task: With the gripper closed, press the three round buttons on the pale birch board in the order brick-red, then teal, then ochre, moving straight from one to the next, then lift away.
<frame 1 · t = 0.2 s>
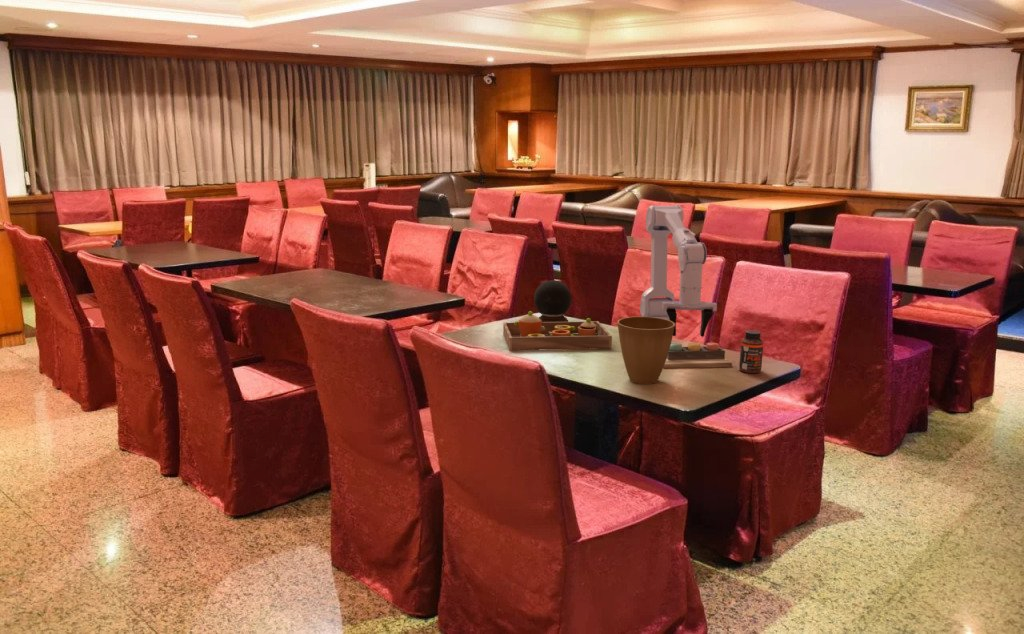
hand: (688, 335, 233), 10 cm above the table, tool pointing down, fingers open, 7 cm apart
toy tea set: (555, 341, 269), resting in tea set tray rim
button board: (689, 361, 244), on the table
ochre button: (693, 348, 244), point 4 cm above the table, slide at 0.0 cm
supplement bottle: (750, 372, 234), on the table
plant pot: (643, 381, 224), on the table
teal button: (675, 348, 243), point 4 cm above the table, slide at 0.0 cm
tea set tray rim: (555, 341, 267), on the table
brick button: (712, 348, 244), point 4 cm above the table, slide at 0.0 cm
snow globe: (552, 323, 295), on the table
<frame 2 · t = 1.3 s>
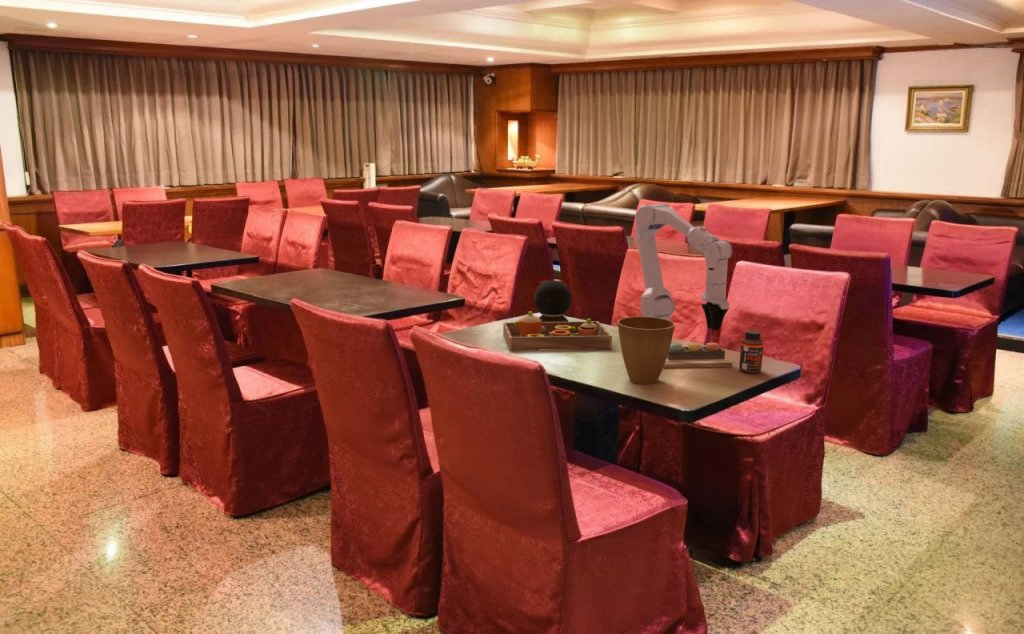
hand: (713, 329, 243), 9 cm above the table, tool pointing down, fingers closed
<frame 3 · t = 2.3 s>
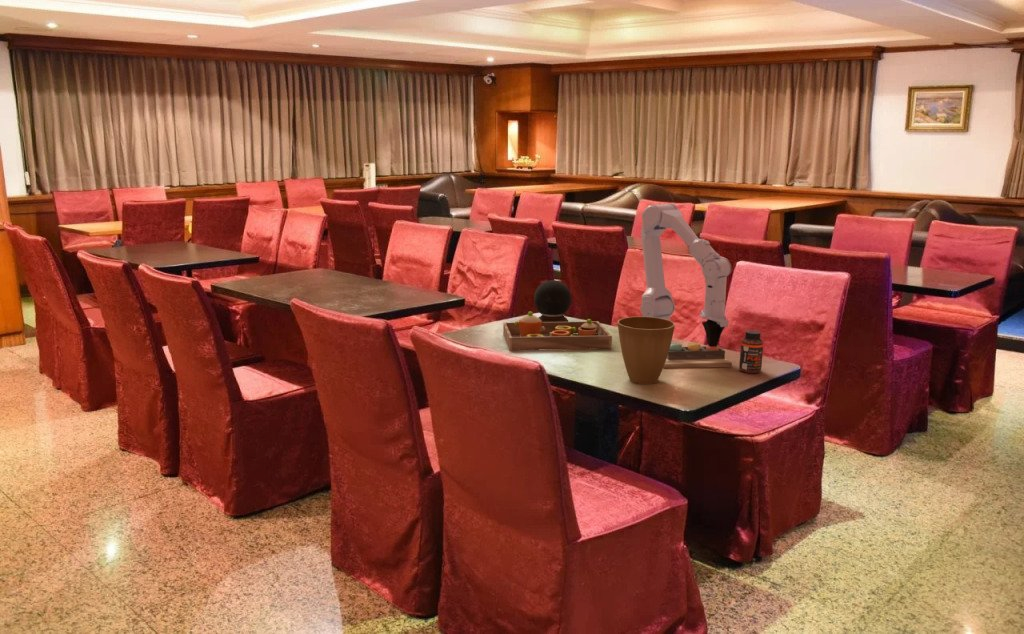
hand: (712, 346, 244), 4 cm above the table, tool pointing down, fingers closed, pressing on brick button
brick button: (712, 350, 244), point 3 cm above the table, slide at 0.6 cm, touching gripper
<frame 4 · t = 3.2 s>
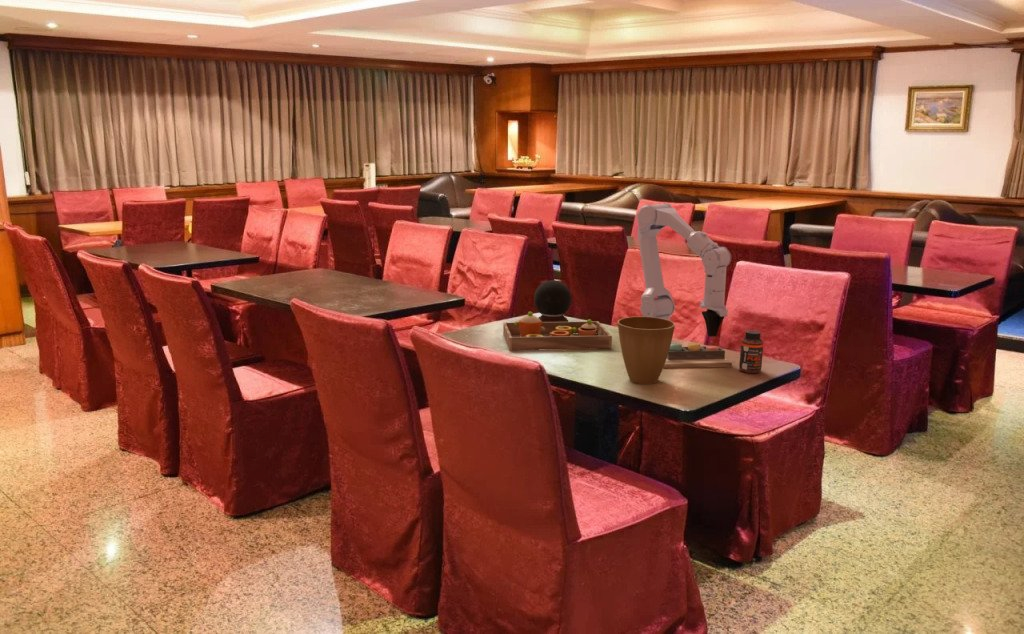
hand: (712, 336, 244), 7 cm above the table, tool pointing down, fingers closed
brick button: (712, 351, 245), point 3 cm above the table, slide at 1.0 cm
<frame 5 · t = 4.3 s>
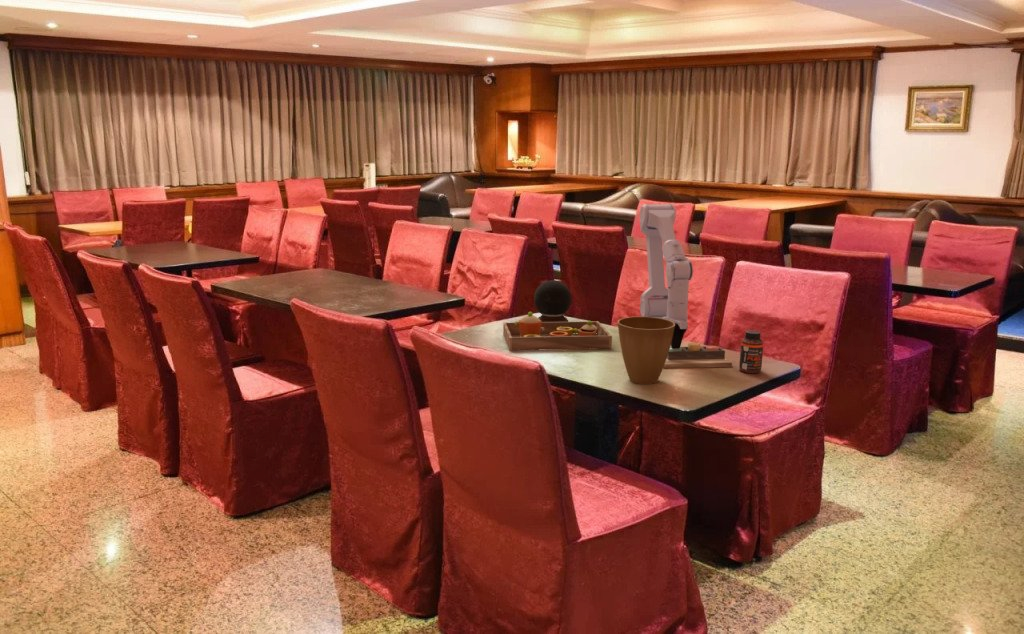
hand: (675, 348, 243), 4 cm above the table, tool pointing down, fingers closed, pressing on teal button
teal button: (675, 352, 243), point 3 cm above the table, slide at 1.0 cm, touching gripper
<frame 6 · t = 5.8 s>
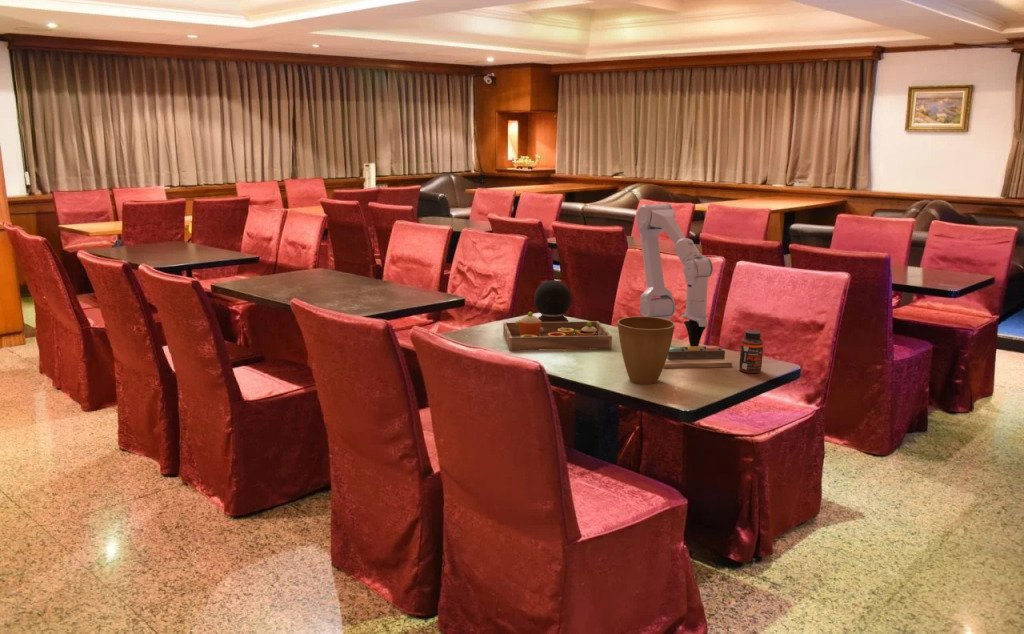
hand: (694, 345, 244), 5 cm above the table, tool pointing down, fingers closed, pressing on ochre button
toy tea set: (554, 344, 266), resting in tea set tray rim
ochre button: (693, 349, 244), point 3 cm above the table, slide at 0.4 cm, touching gripper
teal button: (675, 352, 243), point 3 cm above the table, slide at 1.0 cm
everything else where it was.
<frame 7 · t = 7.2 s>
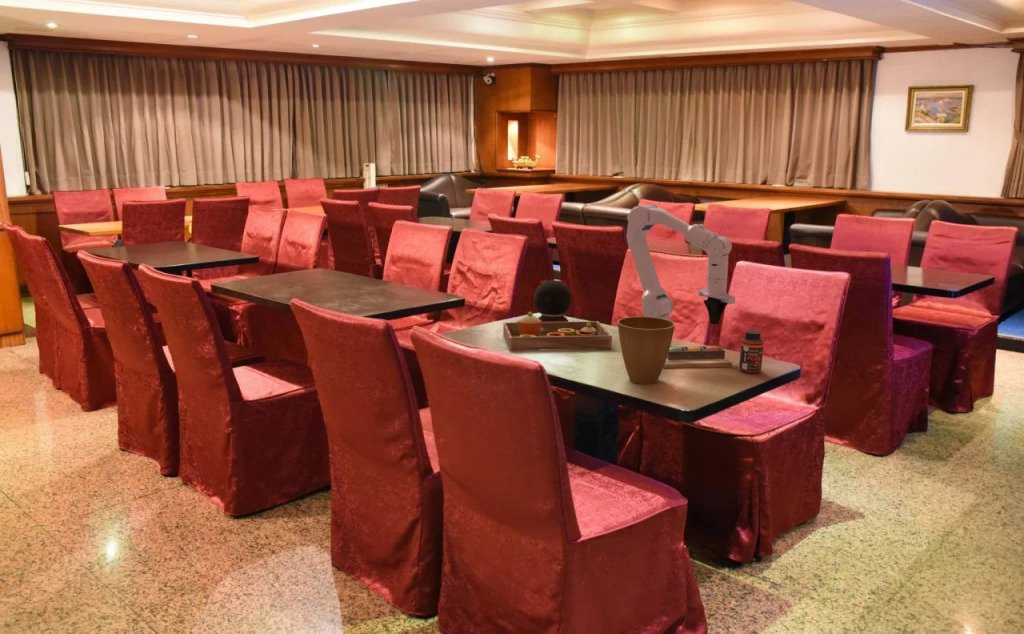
hand: (714, 323, 248), 10 cm above the table, tool pointing down, fingers closed
ochre button: (693, 351, 244), point 3 cm above the table, slide at 1.0 cm
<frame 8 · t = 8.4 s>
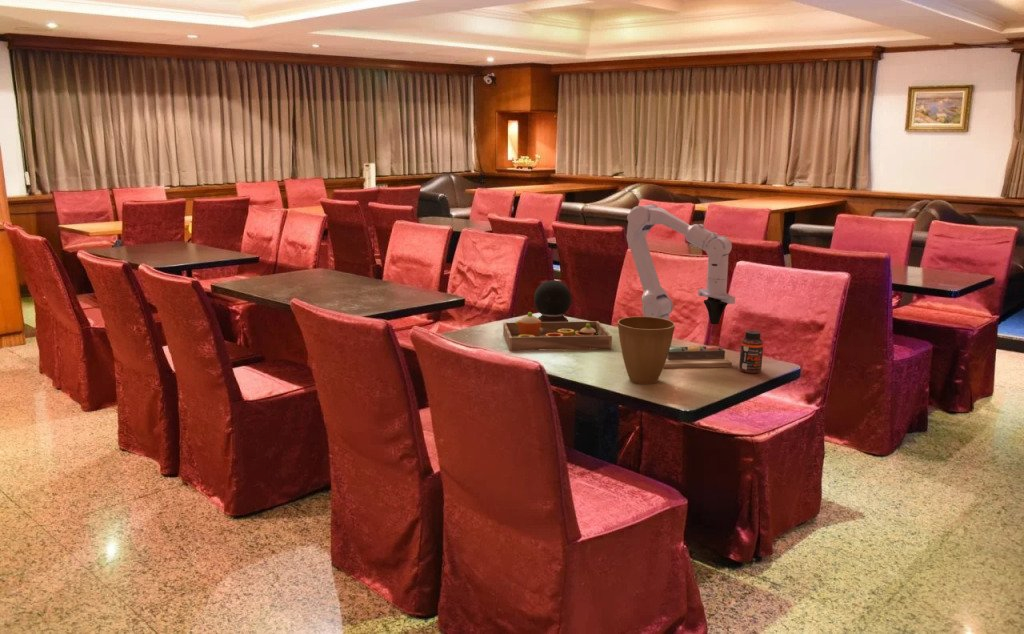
hand: (714, 323, 248), 10 cm above the table, tool pointing down, fingers closed
at the end: brick button slide at 1.0 cm; teal button slide at 1.0 cm; ochre button slide at 1.0 cm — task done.
